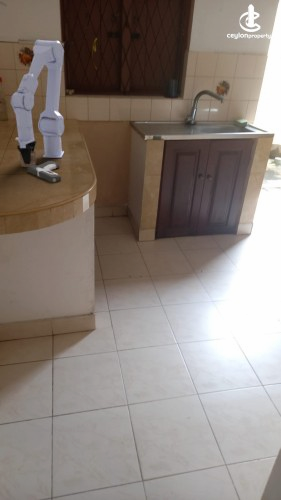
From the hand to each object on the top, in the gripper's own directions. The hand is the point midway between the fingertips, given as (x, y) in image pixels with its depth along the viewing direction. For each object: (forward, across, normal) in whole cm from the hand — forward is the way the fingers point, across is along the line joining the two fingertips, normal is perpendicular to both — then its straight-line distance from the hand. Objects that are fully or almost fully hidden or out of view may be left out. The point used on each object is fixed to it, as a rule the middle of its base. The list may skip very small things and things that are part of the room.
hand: (28, 161), depth 142 cm
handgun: (+2, +9, +10) cm, 14 cm away
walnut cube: (+1, 0, 0) cm, 1 cm away
